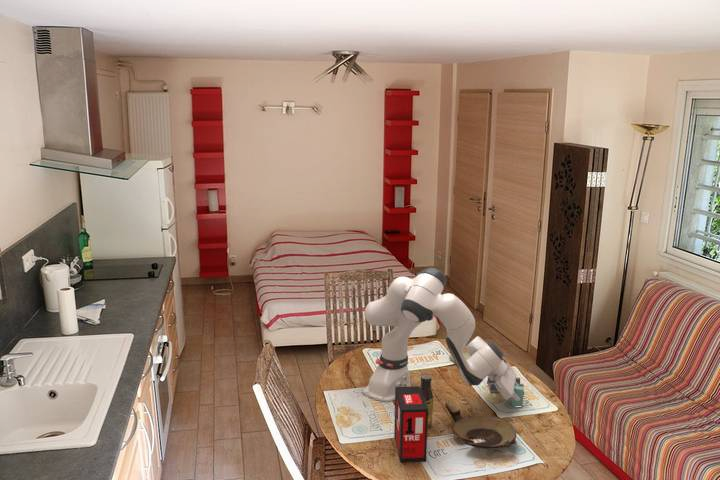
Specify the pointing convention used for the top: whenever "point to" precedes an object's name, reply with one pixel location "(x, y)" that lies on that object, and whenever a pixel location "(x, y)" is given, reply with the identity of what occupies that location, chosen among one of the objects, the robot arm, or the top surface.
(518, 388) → the teal ridged block
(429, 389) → the sauce bottle
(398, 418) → the cleaning product box
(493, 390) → the slotted rack
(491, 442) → the frying pan
